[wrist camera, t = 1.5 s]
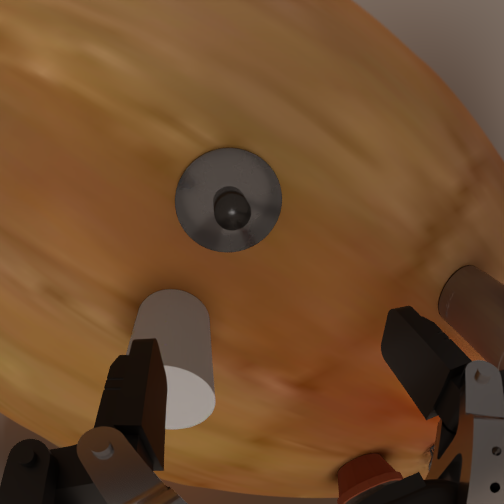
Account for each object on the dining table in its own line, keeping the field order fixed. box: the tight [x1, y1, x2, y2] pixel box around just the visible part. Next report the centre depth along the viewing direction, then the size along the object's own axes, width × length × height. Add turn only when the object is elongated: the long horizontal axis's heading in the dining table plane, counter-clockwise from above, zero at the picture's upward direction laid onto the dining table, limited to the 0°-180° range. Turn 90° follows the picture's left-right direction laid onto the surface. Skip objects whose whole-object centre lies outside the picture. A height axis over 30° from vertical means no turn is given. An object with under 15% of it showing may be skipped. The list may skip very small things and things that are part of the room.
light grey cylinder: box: [126, 289, 215, 429], centre depth 29 cm, size 8×8×12 cm
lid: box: [175, 148, 282, 252], centre depth 28 cm, size 10×10×5 cm
